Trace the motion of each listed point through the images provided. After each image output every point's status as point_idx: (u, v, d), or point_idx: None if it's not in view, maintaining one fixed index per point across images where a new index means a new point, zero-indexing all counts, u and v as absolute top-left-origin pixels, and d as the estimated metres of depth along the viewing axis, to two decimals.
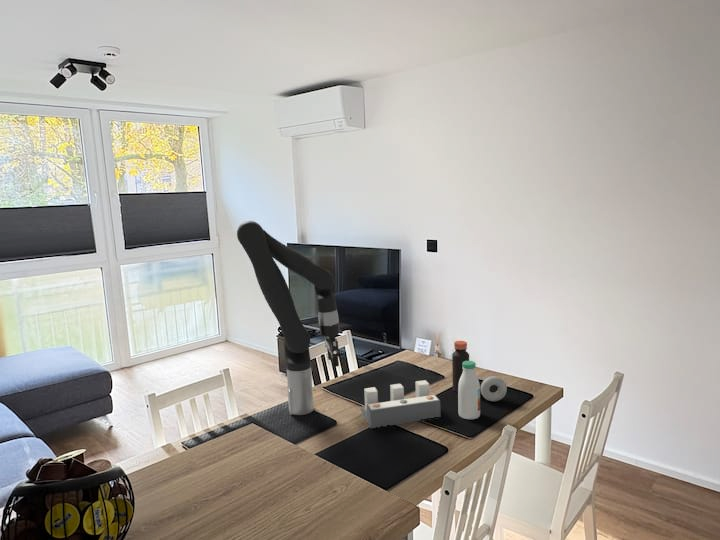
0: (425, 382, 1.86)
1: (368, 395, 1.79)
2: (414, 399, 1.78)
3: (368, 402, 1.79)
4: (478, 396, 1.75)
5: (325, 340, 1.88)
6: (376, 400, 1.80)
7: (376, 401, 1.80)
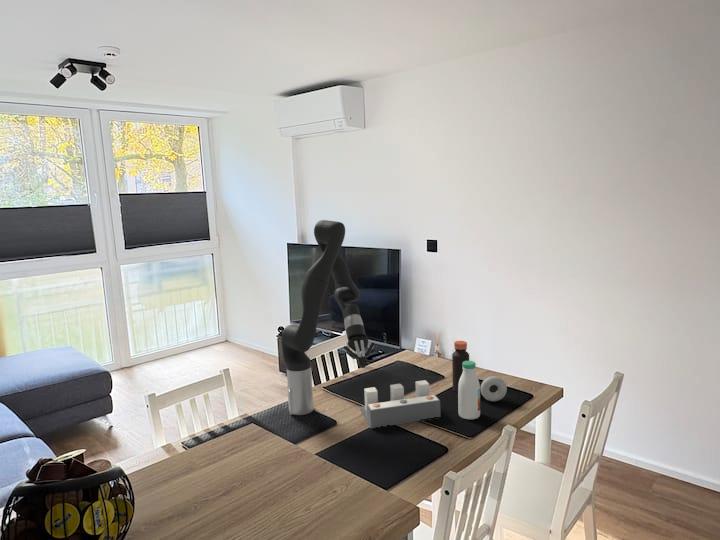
0: (425, 382, 1.86)
1: (368, 395, 1.79)
2: (414, 399, 1.78)
3: (368, 402, 1.79)
4: (478, 396, 1.75)
5: (356, 341, 1.95)
6: (376, 400, 1.80)
7: (376, 401, 1.80)
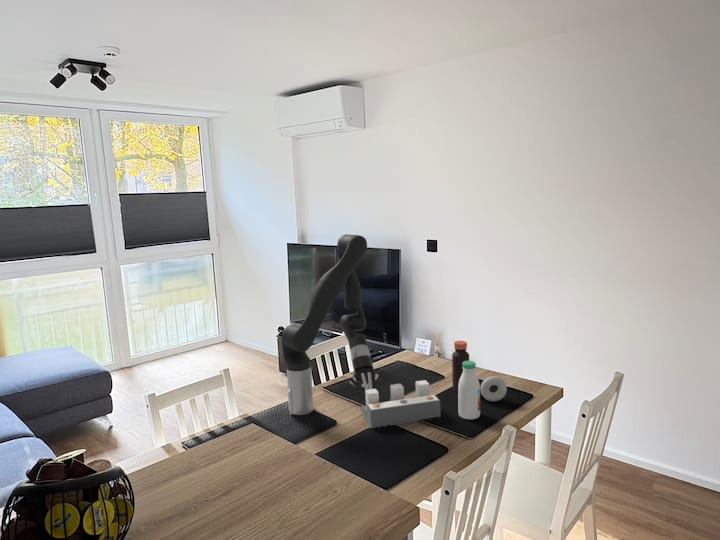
0: (425, 382, 1.86)
1: (369, 397, 1.78)
2: (414, 399, 1.78)
3: None
4: (478, 396, 1.75)
5: (362, 373, 1.87)
6: (377, 402, 1.79)
7: None
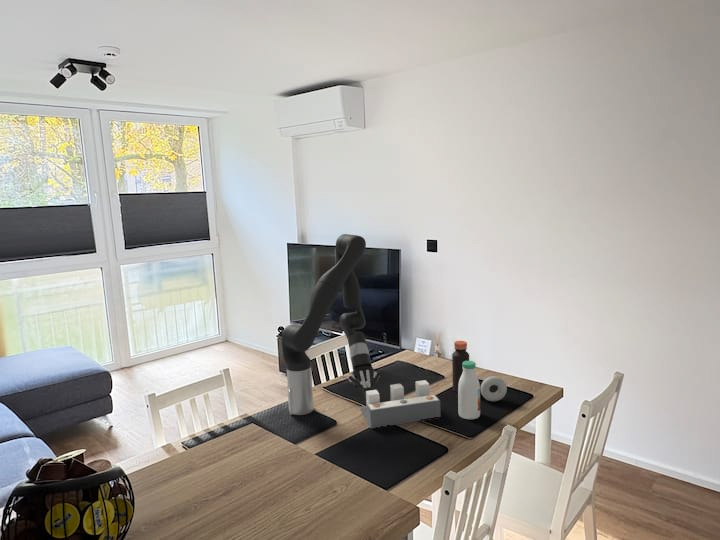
0: (425, 382, 1.86)
1: (370, 398, 1.77)
2: (414, 399, 1.78)
3: None
4: (478, 396, 1.75)
5: (361, 371, 1.90)
6: None
7: None
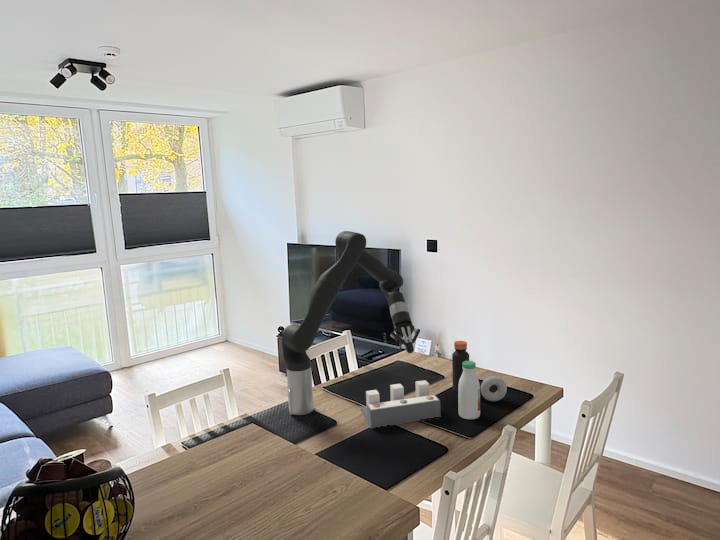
0: (425, 382, 1.86)
1: (370, 398, 1.77)
2: (414, 399, 1.78)
3: None
4: (478, 396, 1.75)
5: (402, 327, 2.00)
6: None
7: None
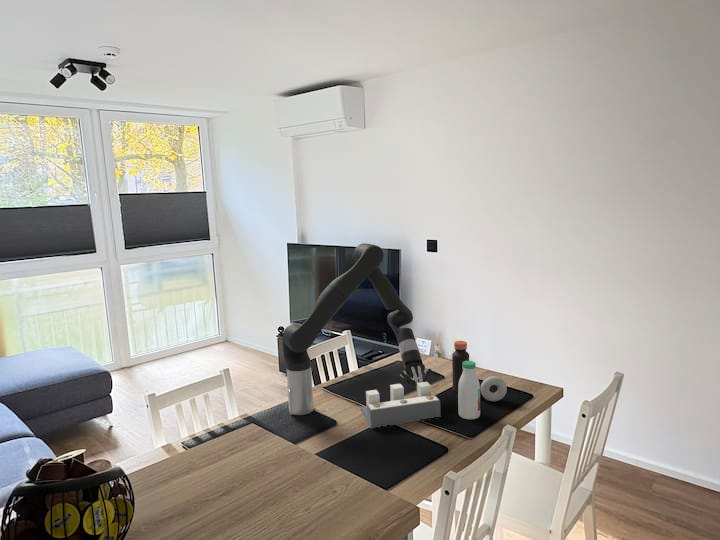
0: (427, 384, 1.84)
1: (370, 398, 1.77)
2: (414, 399, 1.78)
3: None
4: (478, 396, 1.75)
5: (413, 367, 1.91)
6: None
7: None
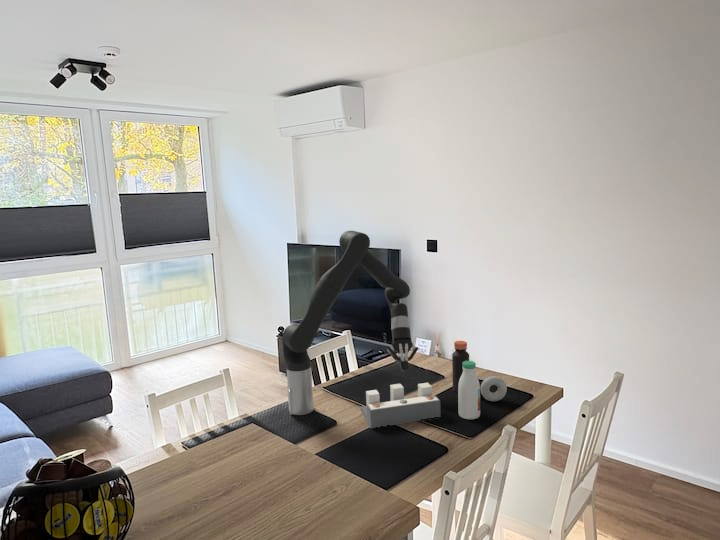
0: (427, 385, 1.83)
1: (370, 398, 1.77)
2: (414, 399, 1.78)
3: None
4: (478, 396, 1.75)
5: (400, 344, 1.97)
6: None
7: None
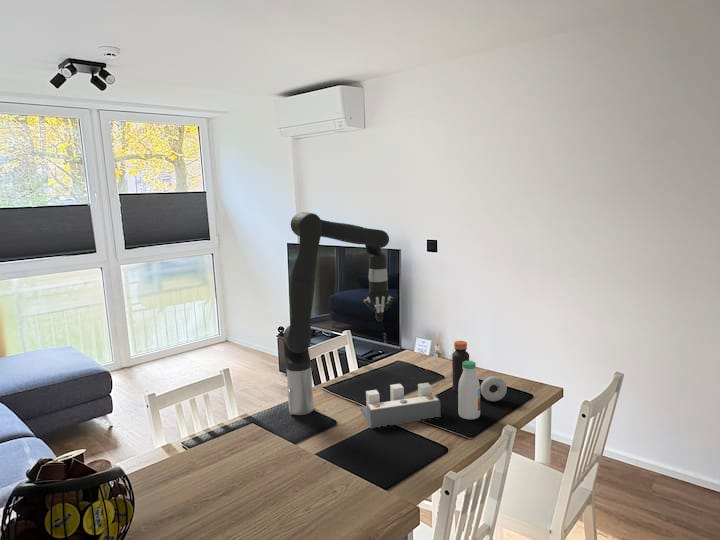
0: (427, 385, 1.83)
1: (370, 398, 1.77)
2: (414, 399, 1.78)
3: None
4: (478, 396, 1.75)
5: (377, 297, 1.98)
6: None
7: None
